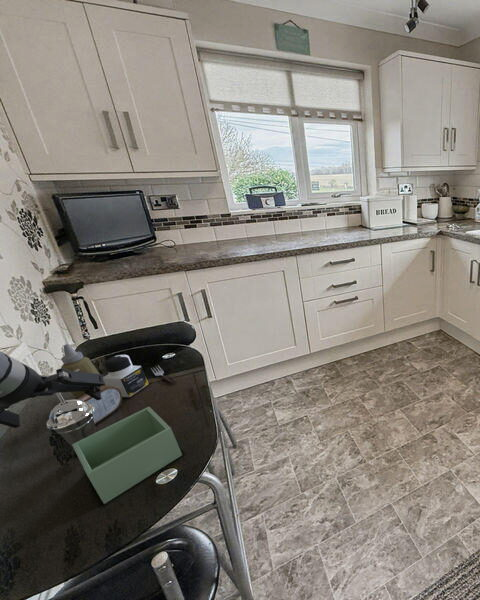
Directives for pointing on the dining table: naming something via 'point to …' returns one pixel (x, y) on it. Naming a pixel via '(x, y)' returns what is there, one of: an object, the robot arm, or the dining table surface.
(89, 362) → the squeeze bottle
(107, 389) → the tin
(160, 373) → the fork
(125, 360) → the medicine bottle
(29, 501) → the dining table surface
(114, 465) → the bin
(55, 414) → the cup with straw
